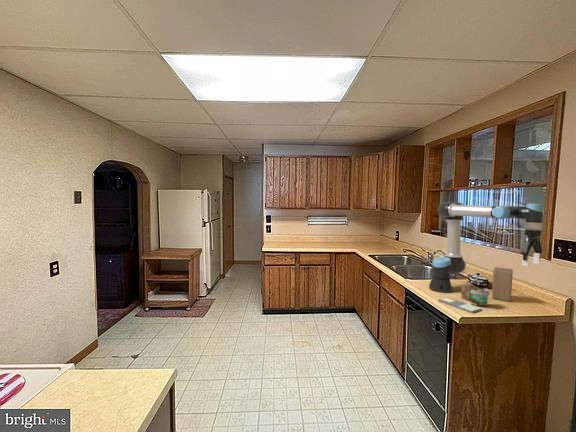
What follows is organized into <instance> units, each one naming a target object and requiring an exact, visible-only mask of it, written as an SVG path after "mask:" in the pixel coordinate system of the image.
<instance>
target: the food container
mask: <svg viewBox="0 0 576 432" xmlns="http://www.w3.org/2000/svg"><path fill="white" fill-rule="evenodd" d="M470 293H471V301H470V305H474V306H477V307H480V308H486V307H487V305H488V300H489V299H488V298H489V296H490V290H489V289H488V288H485V287H484V288H483V289H474V290H471V291H470Z"/></svg>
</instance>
